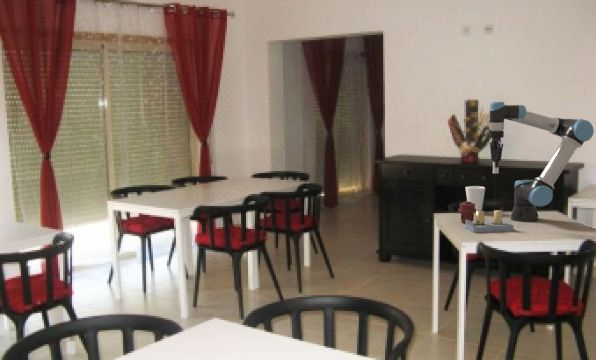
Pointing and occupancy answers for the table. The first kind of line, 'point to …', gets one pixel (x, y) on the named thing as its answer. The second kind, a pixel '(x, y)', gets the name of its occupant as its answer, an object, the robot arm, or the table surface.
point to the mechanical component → (467, 211)
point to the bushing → (480, 218)
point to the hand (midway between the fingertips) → (495, 173)
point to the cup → (475, 196)
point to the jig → (490, 224)
